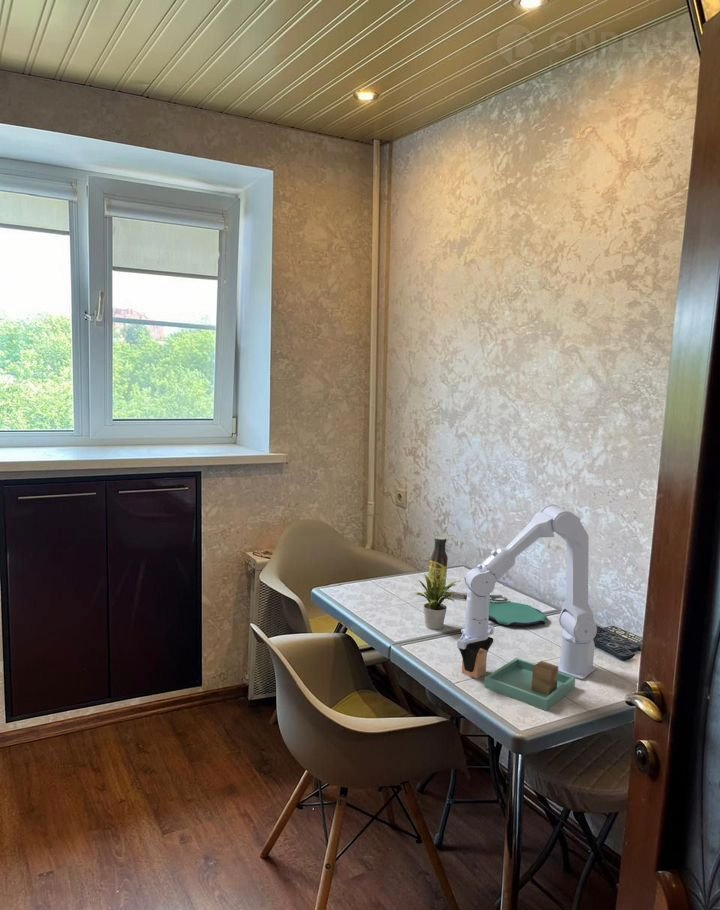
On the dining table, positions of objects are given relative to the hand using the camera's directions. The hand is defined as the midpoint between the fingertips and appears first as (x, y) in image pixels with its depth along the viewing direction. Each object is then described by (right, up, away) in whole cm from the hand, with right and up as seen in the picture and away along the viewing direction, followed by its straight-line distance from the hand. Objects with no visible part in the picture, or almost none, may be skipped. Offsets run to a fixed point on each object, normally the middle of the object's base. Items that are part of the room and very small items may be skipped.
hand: (474, 667), depth 168 cm
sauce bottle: (-3, +6, +61) cm, 62 cm away
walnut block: (+15, -3, -9) cm, 18 cm away
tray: (+12, -3, -7) cm, 14 cm away
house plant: (-6, +2, +29) cm, 30 cm away
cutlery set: (+18, +3, +46) cm, 49 cm away
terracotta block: (0, -1, 0) cm, 1 cm away
